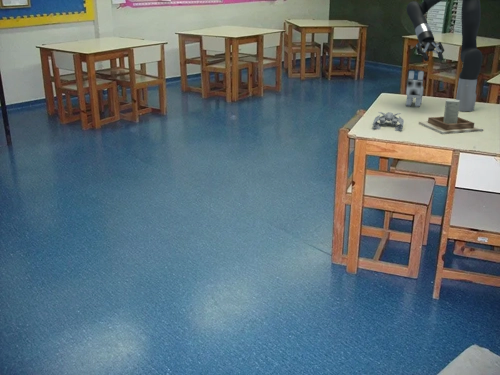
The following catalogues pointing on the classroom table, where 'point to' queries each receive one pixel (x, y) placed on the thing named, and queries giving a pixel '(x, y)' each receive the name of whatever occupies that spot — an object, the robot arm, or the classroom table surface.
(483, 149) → the classroom table surface
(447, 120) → the skincare box
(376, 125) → the spaceship toy
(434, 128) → the holder
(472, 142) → the classroom table surface
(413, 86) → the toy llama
